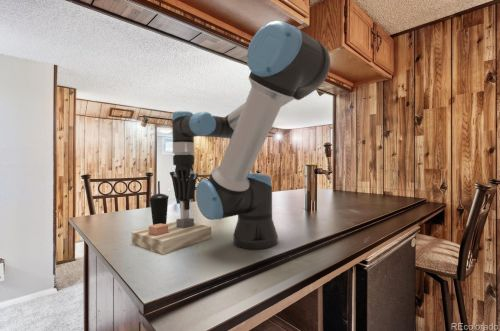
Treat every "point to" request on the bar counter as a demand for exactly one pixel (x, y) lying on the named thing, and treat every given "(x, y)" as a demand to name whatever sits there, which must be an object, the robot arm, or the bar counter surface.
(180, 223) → the gray block
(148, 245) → the panel
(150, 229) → the salmon block
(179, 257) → the bar counter surface
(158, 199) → the drinking cup
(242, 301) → the bar counter surface
